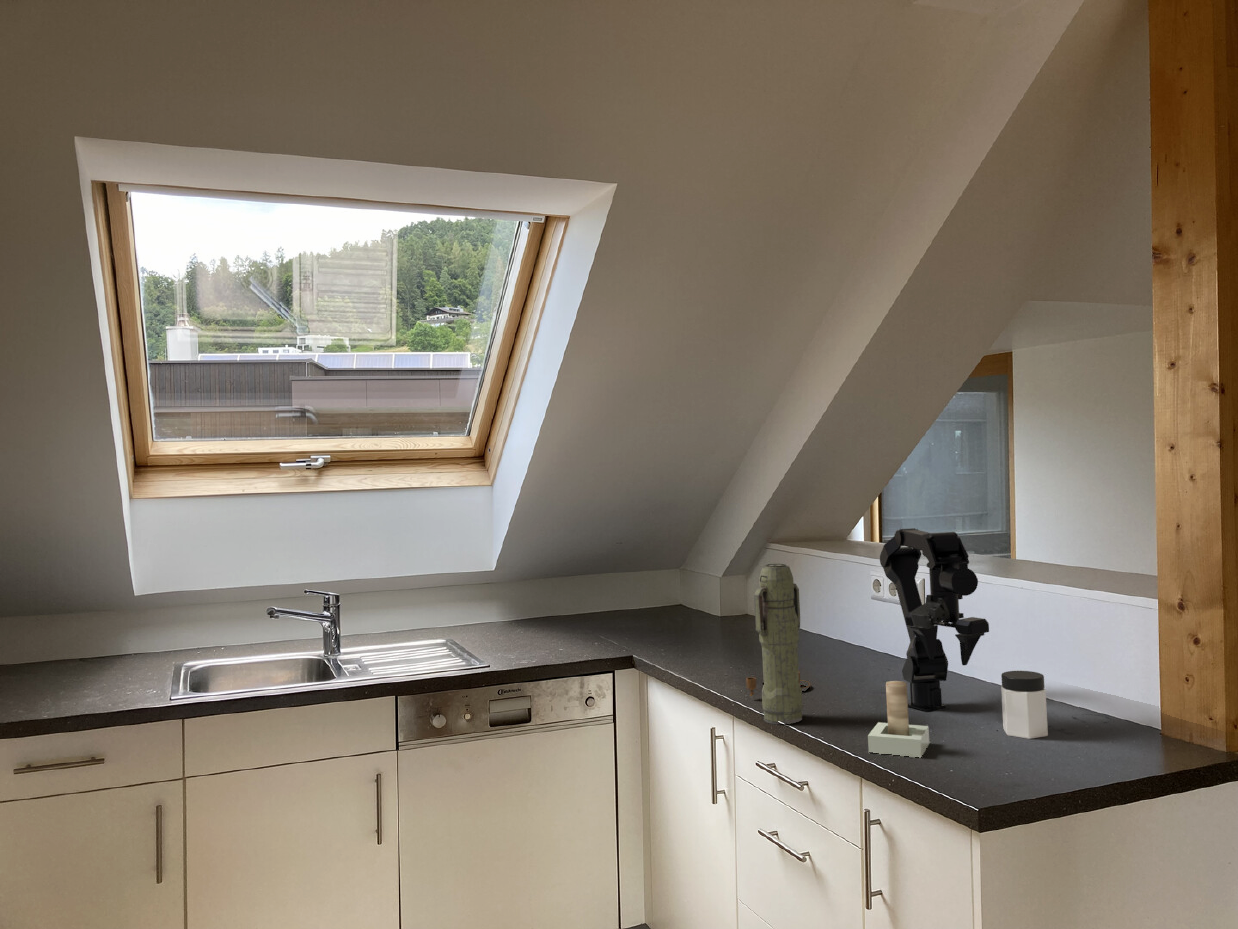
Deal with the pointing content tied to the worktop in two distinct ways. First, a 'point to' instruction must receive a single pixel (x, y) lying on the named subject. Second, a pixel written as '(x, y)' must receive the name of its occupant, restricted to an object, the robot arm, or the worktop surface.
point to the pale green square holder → (899, 741)
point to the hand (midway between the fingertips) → (947, 661)
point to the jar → (1024, 704)
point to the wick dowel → (897, 708)
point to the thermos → (779, 642)
